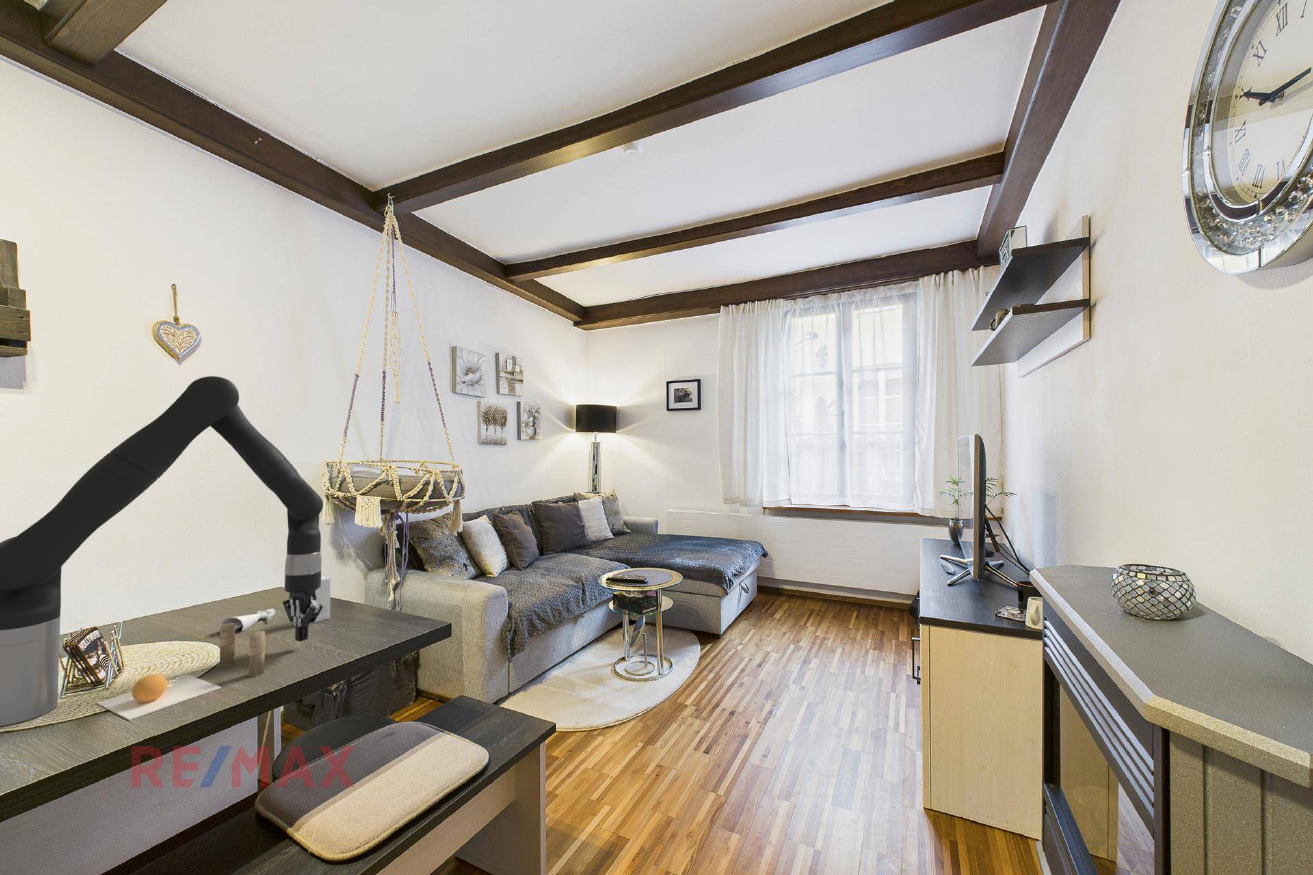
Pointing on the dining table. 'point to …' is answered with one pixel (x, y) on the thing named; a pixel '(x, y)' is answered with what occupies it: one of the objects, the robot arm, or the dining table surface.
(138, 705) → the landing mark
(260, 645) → the right post
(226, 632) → the left post
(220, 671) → the dining table surface
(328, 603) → the skincare box
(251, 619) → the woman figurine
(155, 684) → the brown egg
